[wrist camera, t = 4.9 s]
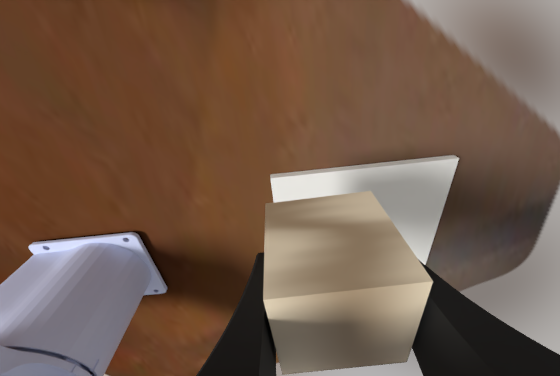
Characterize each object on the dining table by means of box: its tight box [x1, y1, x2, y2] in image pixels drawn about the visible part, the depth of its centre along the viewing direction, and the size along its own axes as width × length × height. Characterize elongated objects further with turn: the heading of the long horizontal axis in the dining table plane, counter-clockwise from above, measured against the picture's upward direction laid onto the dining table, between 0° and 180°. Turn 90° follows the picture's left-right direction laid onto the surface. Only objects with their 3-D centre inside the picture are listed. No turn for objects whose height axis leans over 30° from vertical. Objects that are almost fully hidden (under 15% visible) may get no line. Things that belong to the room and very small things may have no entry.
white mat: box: [270, 155, 459, 265], centre depth 21 cm, size 14×12×1 cm
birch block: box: [263, 191, 433, 374], centre depth 10 cm, size 5×5×5 cm
